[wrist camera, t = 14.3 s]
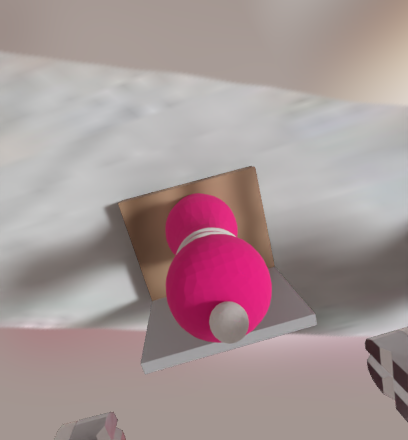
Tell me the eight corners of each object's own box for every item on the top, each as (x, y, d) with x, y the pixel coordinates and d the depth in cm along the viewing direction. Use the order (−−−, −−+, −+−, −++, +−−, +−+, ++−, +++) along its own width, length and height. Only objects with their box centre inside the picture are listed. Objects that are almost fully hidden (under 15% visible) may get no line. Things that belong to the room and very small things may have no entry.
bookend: (250, 166, 31) (292, 172, 19) (270, 268, 35) (317, 324, 23) (121, 200, 31) (86, 228, 19) (156, 300, 34) (144, 374, 23)
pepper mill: (182, 257, 31) (188, 426, 12) (156, 203, 29) (112, 299, 10) (237, 234, 31) (334, 365, 12) (215, 178, 29) (286, 224, 10)
